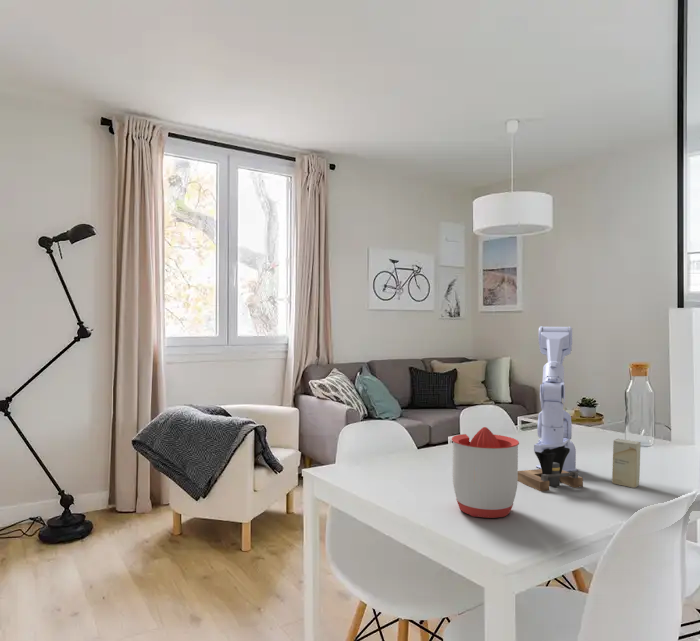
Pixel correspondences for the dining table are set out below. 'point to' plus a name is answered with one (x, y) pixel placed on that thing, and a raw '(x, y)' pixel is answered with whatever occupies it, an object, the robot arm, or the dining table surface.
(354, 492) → the dining table surface
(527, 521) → the dining table surface
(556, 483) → the grey cylinder with band
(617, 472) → the skincare box
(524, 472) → the wooden bracket with rod
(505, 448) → the citrus juicer
